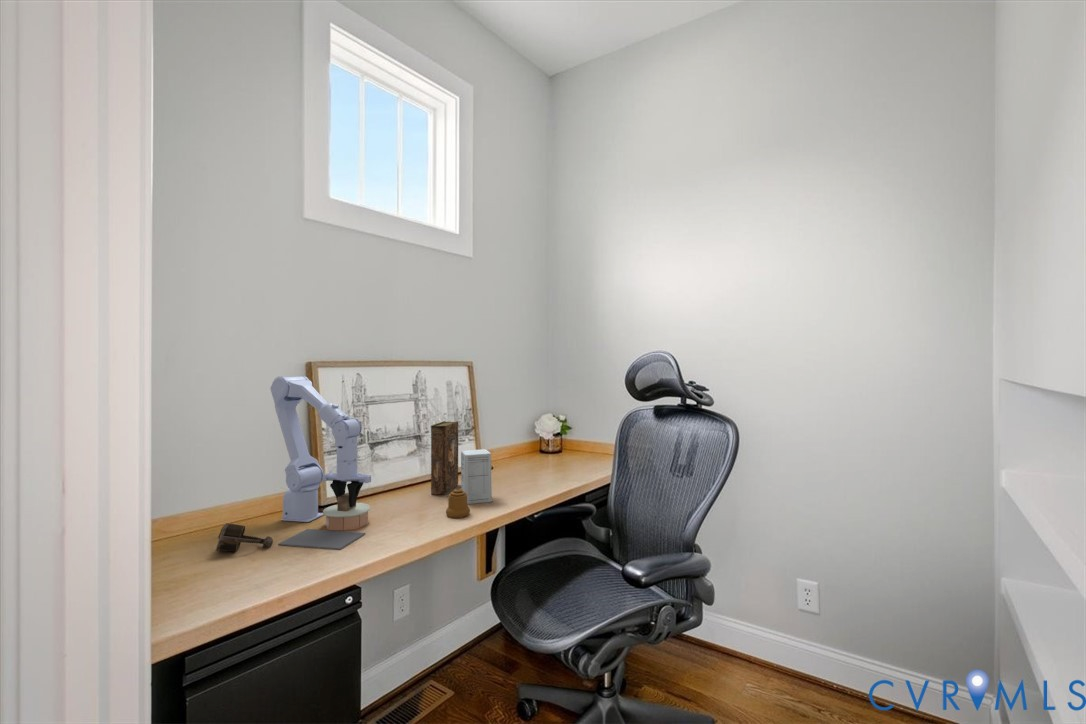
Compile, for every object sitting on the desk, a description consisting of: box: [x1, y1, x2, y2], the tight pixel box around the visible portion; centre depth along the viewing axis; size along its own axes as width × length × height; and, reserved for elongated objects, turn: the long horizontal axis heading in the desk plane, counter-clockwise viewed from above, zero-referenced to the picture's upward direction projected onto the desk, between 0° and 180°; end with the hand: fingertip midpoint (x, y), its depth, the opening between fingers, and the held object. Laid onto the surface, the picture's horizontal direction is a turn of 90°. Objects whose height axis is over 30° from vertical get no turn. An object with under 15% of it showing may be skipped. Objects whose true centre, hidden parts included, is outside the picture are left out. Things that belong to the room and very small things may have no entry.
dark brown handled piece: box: [215, 522, 274, 552], centre depth 130 cm, size 7×13×10 cm
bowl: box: [325, 511, 369, 532], centre depth 150 cm, size 11×11×4 cm
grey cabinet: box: [460, 448, 493, 505], centre depth 177 cm, size 10×9×17 cm
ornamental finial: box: [445, 488, 471, 519], centre depth 159 cm, size 8×8×8 cm
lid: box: [322, 492, 371, 517], centre depth 150 cm, size 13×13×5 cm
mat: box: [277, 528, 366, 551], centre depth 137 cm, size 18×12×1 cm, turn 79°
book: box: [430, 420, 459, 496], centre depth 191 cm, size 16×6×25 cm, turn 172°
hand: (346, 506), depth 150 cm, fingers closed on lid, 3 cm apart
